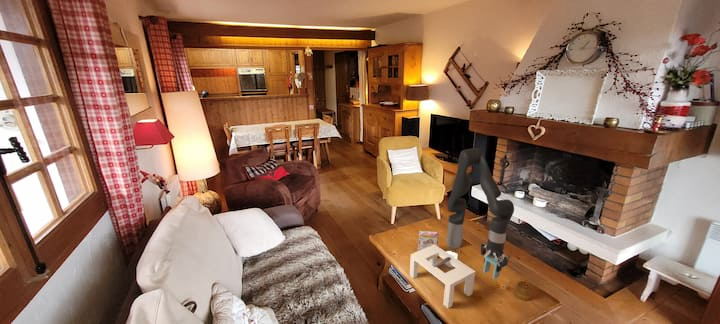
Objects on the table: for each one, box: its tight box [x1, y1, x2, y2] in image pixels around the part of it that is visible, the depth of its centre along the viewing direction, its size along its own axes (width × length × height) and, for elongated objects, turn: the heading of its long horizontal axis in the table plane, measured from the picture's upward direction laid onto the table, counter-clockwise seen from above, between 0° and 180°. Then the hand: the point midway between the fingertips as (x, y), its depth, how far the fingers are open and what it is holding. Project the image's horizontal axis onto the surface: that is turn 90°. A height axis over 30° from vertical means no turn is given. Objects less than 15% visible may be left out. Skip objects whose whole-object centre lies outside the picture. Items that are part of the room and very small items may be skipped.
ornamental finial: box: [513, 280, 532, 301], centre depth 146 cm, size 8×8×8 cm
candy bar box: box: [417, 230, 439, 251], centre depth 176 cm, size 11×5×16 cm, turn 84°
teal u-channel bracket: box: [482, 255, 501, 280], centre depth 143 cm, size 4×6×9 cm, turn 32°
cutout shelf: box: [409, 244, 476, 309], centre depth 153 cm, size 18×28×15 cm, turn 31°
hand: (492, 267), depth 143 cm, fingers closed on teal u-channel bracket, 6 cm apart
